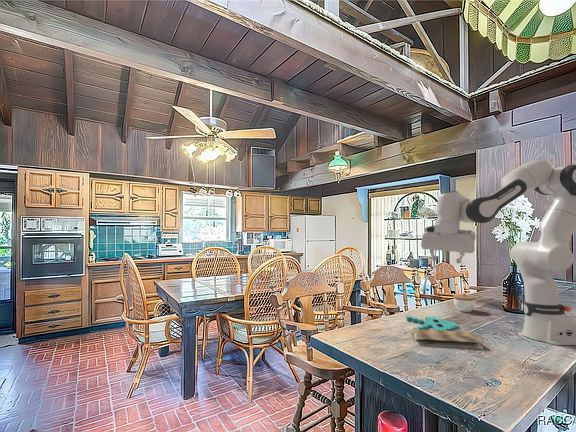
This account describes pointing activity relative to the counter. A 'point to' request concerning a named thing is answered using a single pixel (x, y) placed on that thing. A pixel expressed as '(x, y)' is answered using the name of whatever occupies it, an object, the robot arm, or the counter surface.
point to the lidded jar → (464, 302)
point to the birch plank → (448, 338)
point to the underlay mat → (449, 344)
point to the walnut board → (442, 332)
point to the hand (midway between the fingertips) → (446, 261)
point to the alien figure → (434, 323)
